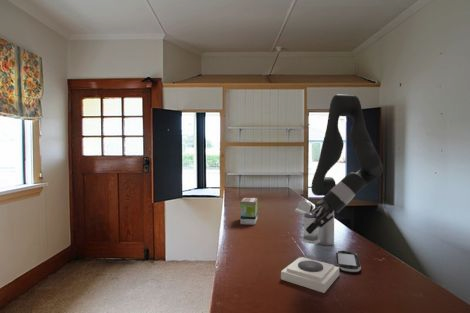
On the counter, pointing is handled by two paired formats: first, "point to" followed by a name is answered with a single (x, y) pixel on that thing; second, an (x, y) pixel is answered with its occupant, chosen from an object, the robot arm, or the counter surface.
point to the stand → (310, 274)
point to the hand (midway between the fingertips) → (305, 229)
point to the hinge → (304, 207)
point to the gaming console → (348, 261)
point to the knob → (307, 220)
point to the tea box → (248, 211)
